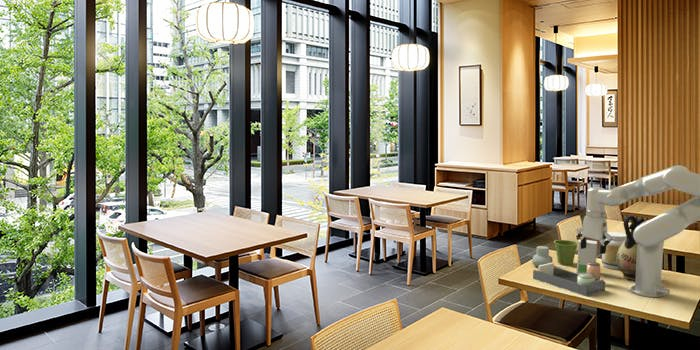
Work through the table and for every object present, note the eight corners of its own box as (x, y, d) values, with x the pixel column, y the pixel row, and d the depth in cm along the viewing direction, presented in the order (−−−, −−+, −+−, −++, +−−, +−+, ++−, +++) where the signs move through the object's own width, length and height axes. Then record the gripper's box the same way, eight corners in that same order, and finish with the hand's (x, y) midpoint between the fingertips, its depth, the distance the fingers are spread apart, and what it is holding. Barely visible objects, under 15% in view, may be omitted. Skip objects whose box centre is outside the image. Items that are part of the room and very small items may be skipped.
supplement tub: (620, 263, 259) (621, 231, 258) (633, 270, 247) (635, 236, 245) (596, 263, 259) (598, 231, 258) (609, 270, 247) (610, 237, 245)
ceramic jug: (631, 271, 246) (634, 211, 242) (660, 280, 231) (664, 216, 228) (605, 275, 240) (607, 214, 236) (633, 285, 225) (636, 220, 222)
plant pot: (579, 262, 262) (579, 241, 261) (575, 268, 252) (576, 246, 251) (555, 259, 268) (555, 238, 267) (551, 264, 258) (551, 243, 257)
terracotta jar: (602, 282, 229) (603, 263, 228) (594, 284, 227) (595, 265, 226) (591, 279, 234) (591, 260, 233) (583, 281, 231) (584, 262, 230)
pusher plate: (553, 275, 240) (553, 263, 239) (539, 278, 235) (540, 266, 234) (544, 272, 244) (545, 260, 244) (531, 275, 239) (531, 263, 239)
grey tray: (605, 290, 219) (605, 279, 218) (586, 296, 212) (586, 284, 212) (551, 274, 243) (551, 264, 242) (533, 278, 237) (533, 268, 236)
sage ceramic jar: (597, 291, 219) (598, 276, 218) (587, 293, 215) (588, 278, 214) (583, 286, 225) (584, 271, 224) (573, 289, 221) (574, 274, 220)
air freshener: (536, 262, 263) (537, 244, 262) (553, 264, 258) (553, 246, 257) (531, 267, 254) (531, 248, 253) (548, 270, 249) (548, 250, 248)
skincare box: (576, 272, 244) (577, 241, 243) (577, 269, 250) (578, 238, 248) (595, 275, 240) (596, 243, 239) (596, 271, 246) (597, 240, 244)
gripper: (618, 217, 221) (615, 254, 223) (583, 210, 236) (581, 245, 238) (608, 218, 218) (605, 256, 220) (573, 211, 233) (571, 247, 235)
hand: (592, 250), depth 229 cm, fingers open, 9 cm apart
